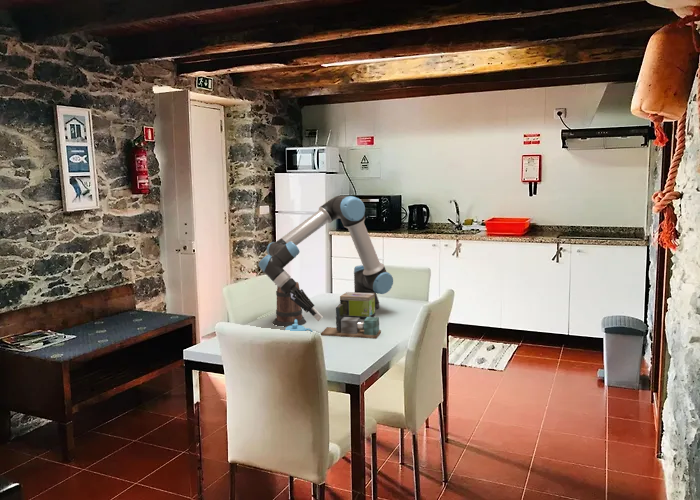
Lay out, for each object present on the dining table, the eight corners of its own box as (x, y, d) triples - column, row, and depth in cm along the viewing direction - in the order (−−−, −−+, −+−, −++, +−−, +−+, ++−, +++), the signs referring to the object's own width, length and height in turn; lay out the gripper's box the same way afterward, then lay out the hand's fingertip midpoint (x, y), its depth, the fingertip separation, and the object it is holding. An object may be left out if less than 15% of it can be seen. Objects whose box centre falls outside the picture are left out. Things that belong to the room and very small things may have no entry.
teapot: (271, 350, 251) (270, 324, 249) (296, 342, 260) (295, 317, 259) (293, 358, 240) (292, 331, 238) (319, 350, 249) (318, 324, 248)
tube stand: (320, 335, 270) (320, 319, 269) (327, 329, 280) (326, 313, 279) (376, 338, 264) (376, 322, 263) (380, 332, 274) (380, 316, 272)
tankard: (307, 326, 286) (305, 285, 282) (271, 328, 284) (270, 287, 281) (305, 313, 309) (304, 276, 306) (273, 315, 307) (271, 277, 304)
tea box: (375, 322, 291) (375, 292, 289) (369, 327, 281) (369, 297, 279) (346, 319, 296) (346, 291, 293) (340, 325, 286) (339, 295, 284)
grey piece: (336, 330, 270) (336, 307, 269) (340, 327, 276) (339, 304, 274) (371, 332, 266) (371, 308, 264) (374, 328, 272) (374, 305, 270)
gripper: (285, 285, 283) (319, 320, 282) (275, 291, 271) (311, 328, 269) (295, 274, 281) (329, 310, 280) (285, 280, 269) (321, 317, 267)
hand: (320, 319), depth 275 cm, fingers closed
